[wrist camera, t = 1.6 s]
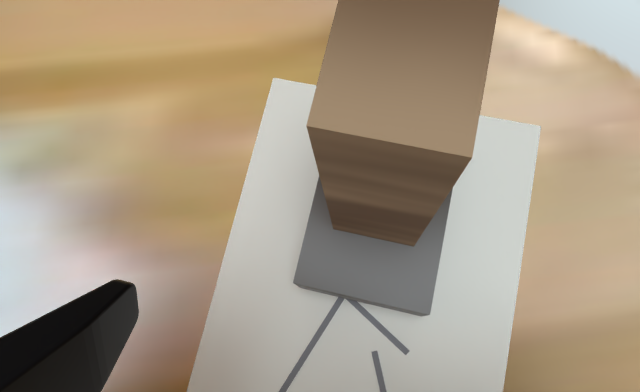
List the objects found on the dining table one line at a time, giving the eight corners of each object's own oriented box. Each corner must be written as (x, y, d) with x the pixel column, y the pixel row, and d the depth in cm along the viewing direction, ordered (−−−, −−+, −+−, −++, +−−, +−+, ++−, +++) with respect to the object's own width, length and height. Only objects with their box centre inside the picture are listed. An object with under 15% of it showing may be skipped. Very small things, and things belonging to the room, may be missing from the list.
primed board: (446, 698, 19) (454, 731, 17) (140, 597, 20) (123, 619, 19) (529, 138, 23) (541, 125, 22) (278, 92, 25) (273, 77, 23)
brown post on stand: (421, 316, 20) (511, 298, 8) (300, 287, 21) (221, 233, 9) (455, 132, 22) (569, -102, 10) (343, 111, 23) (324, -133, 11)
